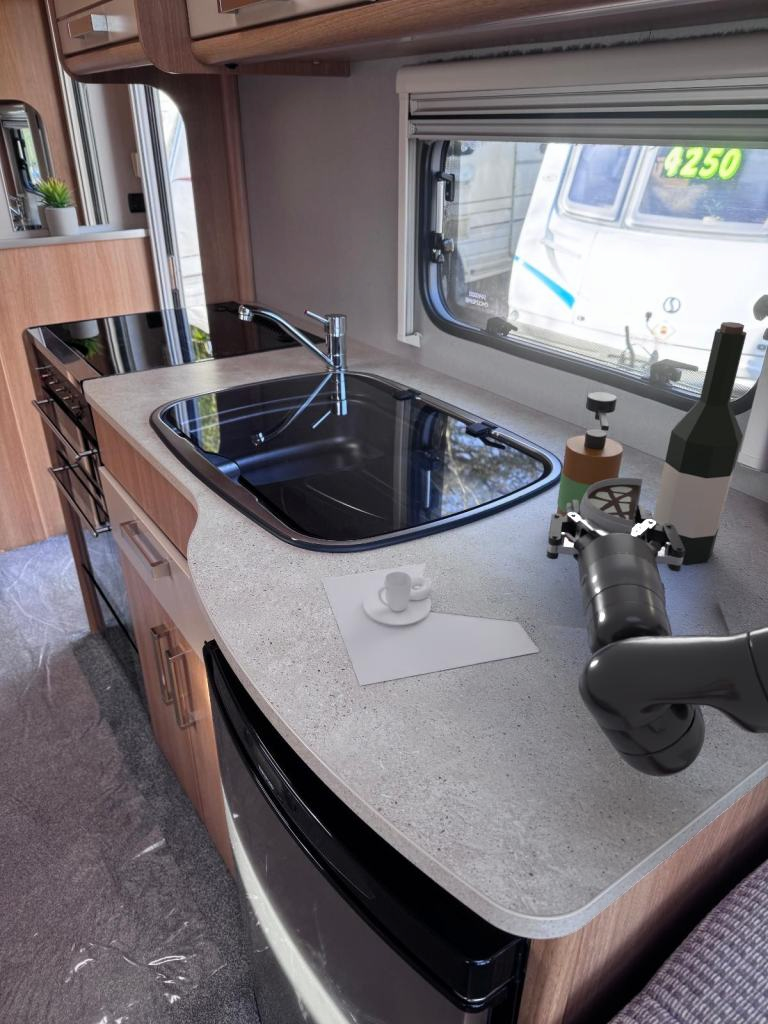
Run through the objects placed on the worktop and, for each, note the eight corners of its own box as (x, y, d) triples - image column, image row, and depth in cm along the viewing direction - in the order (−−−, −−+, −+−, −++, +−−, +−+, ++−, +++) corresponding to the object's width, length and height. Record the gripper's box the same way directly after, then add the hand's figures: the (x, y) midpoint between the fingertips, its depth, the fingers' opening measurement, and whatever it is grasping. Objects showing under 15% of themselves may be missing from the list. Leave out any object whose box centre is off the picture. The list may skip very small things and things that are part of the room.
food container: (580, 542, 91) (589, 469, 87) (630, 550, 89) (643, 477, 85) (563, 592, 81) (572, 513, 77) (619, 603, 79) (632, 523, 75)
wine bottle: (705, 536, 100) (761, 317, 85) (719, 569, 92) (782, 336, 78) (643, 530, 101) (687, 314, 87) (651, 562, 94) (701, 332, 79)
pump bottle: (606, 521, 103) (623, 424, 96) (610, 547, 97) (629, 446, 90) (553, 516, 104) (566, 420, 97) (554, 542, 98) (568, 441, 91)
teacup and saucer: (425, 582, 89) (426, 554, 87) (447, 620, 83) (448, 591, 81) (356, 593, 87) (355, 565, 85) (373, 633, 80) (373, 603, 78)
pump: (611, 414, 94) (615, 392, 93) (618, 442, 86) (622, 419, 84) (583, 412, 95) (586, 390, 93) (587, 440, 86) (591, 416, 85)
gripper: (540, 611, 73) (540, 531, 87) (691, 628, 70) (665, 543, 85) (549, 547, 69) (547, 475, 83) (707, 563, 67) (677, 485, 81)
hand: (606, 509), depth 84 cm, fingers closed on food container, 6 cm apart
